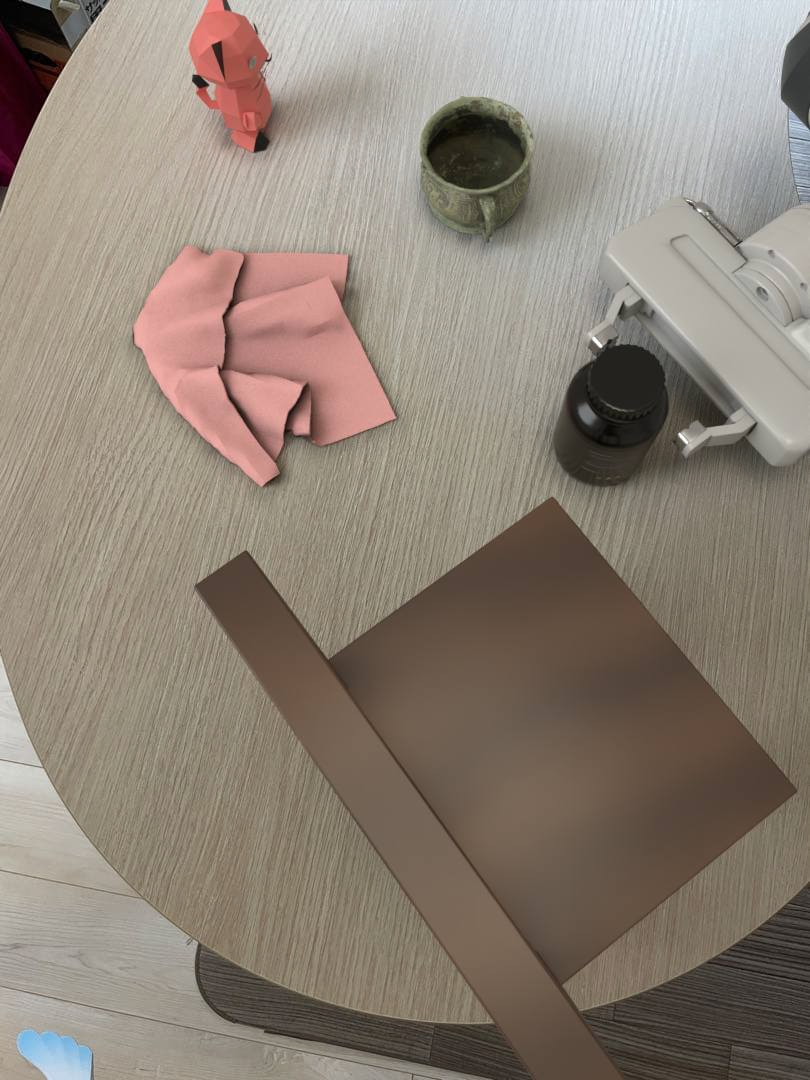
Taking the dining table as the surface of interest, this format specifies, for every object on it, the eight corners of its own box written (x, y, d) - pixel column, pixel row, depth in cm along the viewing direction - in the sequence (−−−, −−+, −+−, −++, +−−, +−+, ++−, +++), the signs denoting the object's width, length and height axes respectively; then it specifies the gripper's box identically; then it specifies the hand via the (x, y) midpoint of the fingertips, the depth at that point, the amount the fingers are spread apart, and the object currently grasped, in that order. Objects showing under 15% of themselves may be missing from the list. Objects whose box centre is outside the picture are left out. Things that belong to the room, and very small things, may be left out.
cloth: (162, 230, 77) (153, 212, 75) (426, 266, 75) (425, 249, 73) (96, 461, 72) (85, 449, 69) (379, 506, 70) (377, 496, 68)
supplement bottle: (547, 407, 72) (567, 330, 60) (637, 400, 72) (675, 322, 60) (557, 493, 70) (580, 430, 58) (650, 486, 70) (691, 421, 58)
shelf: (657, 798, 64) (1091, 775, 21) (493, 930, 62) (611, 1192, 19) (510, 611, 67) (630, 279, 25) (351, 730, 66) (192, 586, 23)
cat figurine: (285, 162, 79) (258, 51, 67) (203, 162, 79) (162, 51, 67) (290, 91, 80) (265, -29, 69) (210, 92, 81) (172, -28, 69)
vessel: (407, 143, 79) (404, 88, 73) (511, 125, 79) (517, 68, 73) (434, 268, 75) (434, 220, 69) (543, 248, 75) (552, 199, 69)
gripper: (699, 158, 66) (544, 264, 64) (910, 370, 61) (749, 491, 59) (678, 213, 72) (535, 311, 70) (868, 410, 67) (720, 521, 65)
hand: (634, 396), depth 65 cm, fingers open, 8 cm apart
